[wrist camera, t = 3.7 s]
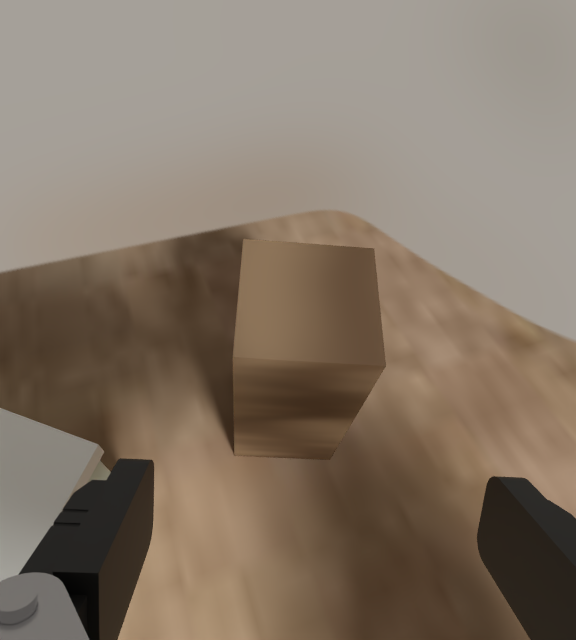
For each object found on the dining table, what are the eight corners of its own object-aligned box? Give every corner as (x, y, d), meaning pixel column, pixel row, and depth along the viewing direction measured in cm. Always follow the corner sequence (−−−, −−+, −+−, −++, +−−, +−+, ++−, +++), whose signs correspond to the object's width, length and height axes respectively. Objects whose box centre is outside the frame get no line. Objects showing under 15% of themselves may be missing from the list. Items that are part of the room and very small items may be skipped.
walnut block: (234, 455, 22) (232, 357, 14) (241, 368, 25) (243, 238, 16) (329, 459, 22) (385, 366, 14) (327, 373, 25) (374, 248, 16)
